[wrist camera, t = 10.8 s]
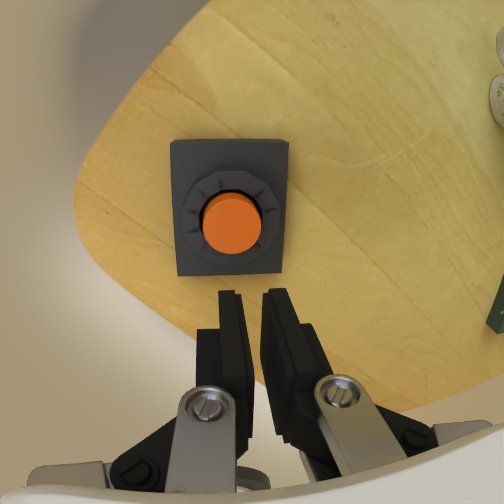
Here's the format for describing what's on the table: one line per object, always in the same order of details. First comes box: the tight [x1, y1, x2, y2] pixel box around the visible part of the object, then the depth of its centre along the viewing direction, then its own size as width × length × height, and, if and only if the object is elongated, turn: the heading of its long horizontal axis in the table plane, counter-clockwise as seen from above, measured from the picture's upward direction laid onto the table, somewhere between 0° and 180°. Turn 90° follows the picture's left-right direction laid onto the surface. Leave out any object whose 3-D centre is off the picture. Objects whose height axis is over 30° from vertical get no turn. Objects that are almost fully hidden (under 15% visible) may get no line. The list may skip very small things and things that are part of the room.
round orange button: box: [203, 193, 261, 254], centre depth 21 cm, size 4×4×2 cm
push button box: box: [170, 139, 289, 276], centre depth 23 cm, size 10×8×4 cm
